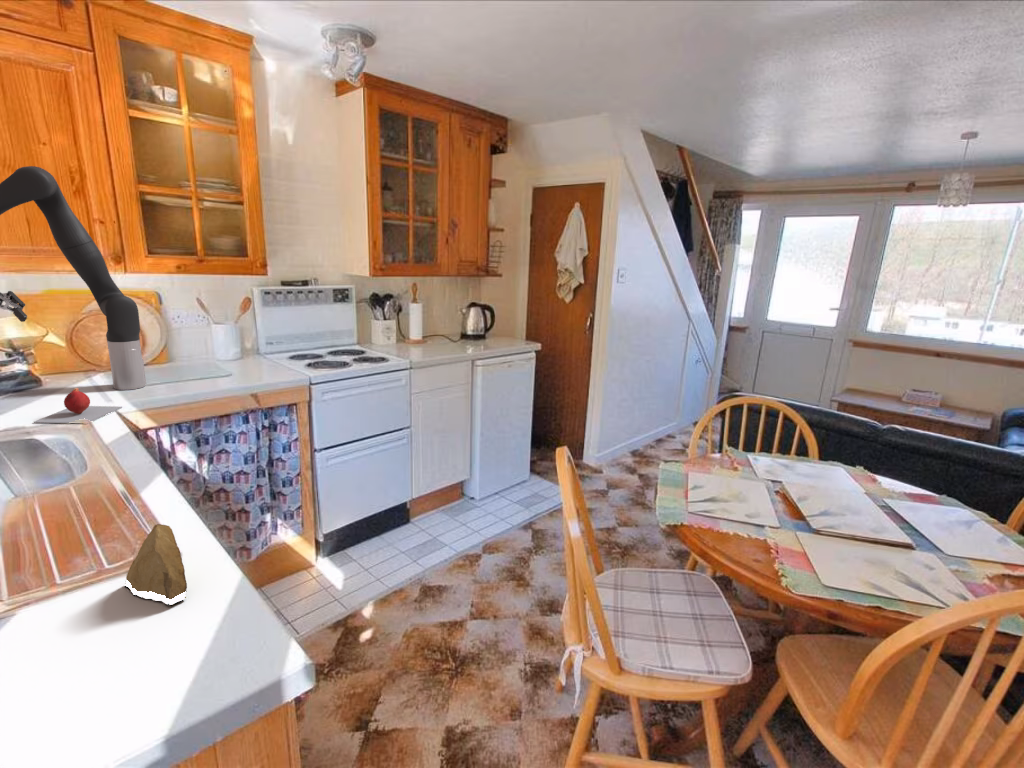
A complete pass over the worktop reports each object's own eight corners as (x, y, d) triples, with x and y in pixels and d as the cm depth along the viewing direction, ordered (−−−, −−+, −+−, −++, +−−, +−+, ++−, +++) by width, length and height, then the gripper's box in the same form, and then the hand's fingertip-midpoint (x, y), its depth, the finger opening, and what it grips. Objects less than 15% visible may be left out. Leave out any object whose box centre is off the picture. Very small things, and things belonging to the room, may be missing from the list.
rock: (207, 585, 75) (203, 545, 83) (160, 559, 70) (160, 518, 77) (142, 638, 73) (144, 592, 80) (89, 615, 68) (96, 568, 75)
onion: (76, 417, 146) (72, 391, 144) (61, 415, 147) (56, 389, 145) (96, 412, 151) (92, 387, 150) (81, 410, 152) (77, 385, 151)
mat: (73, 406, 156) (73, 405, 156) (122, 407, 158) (122, 406, 158) (32, 423, 141) (32, 422, 141) (86, 424, 143) (86, 422, 142)
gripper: (-57, 271, 138) (-15, 315, 139) (2, 270, 151) (40, 311, 152) (-68, 289, 140) (-27, 332, 141) (-8, 287, 154) (29, 326, 155)
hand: (8, 321), depth 147 cm, fingers open, 8 cm apart
